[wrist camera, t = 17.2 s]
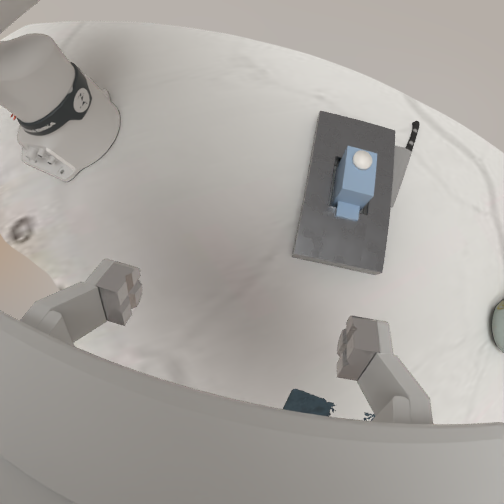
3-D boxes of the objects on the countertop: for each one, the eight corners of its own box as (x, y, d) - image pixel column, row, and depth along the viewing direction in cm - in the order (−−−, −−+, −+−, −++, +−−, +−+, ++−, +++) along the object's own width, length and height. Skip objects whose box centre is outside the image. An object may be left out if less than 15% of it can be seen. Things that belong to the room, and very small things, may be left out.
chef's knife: (371, 208, 45) (388, 217, 44) (373, 205, 44) (390, 214, 43) (404, 116, 47) (419, 124, 47) (405, 113, 46) (421, 121, 46)
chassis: (291, 256, 44) (293, 253, 41) (317, 121, 47) (319, 110, 44) (374, 274, 43) (382, 272, 40) (388, 139, 46) (395, 130, 43)
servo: (327, 221, 44) (341, 201, 36) (337, 159, 46) (350, 129, 37) (354, 227, 44) (373, 209, 35) (362, 165, 46) (380, 137, 37)
